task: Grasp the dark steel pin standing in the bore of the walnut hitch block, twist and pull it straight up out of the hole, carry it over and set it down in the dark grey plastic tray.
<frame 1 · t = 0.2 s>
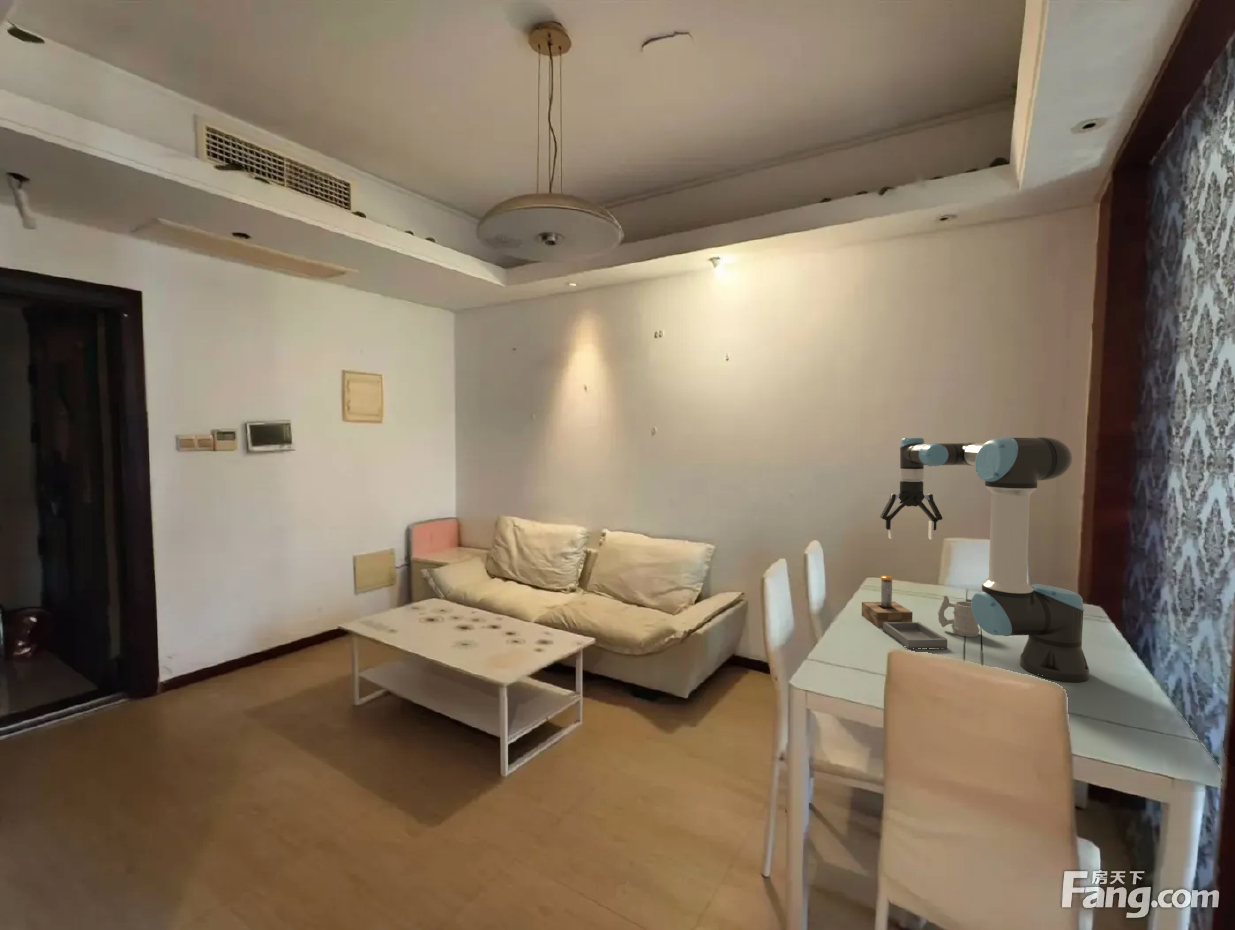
hand: (910, 539, 201), 28 cm above the table, fingers open, 13 cm apart
tray: (913, 639, 178), on the table
mug: (957, 633, 184), on the table
pin: (886, 599, 196), in the hitch block
hitch block: (886, 620, 196), on the table
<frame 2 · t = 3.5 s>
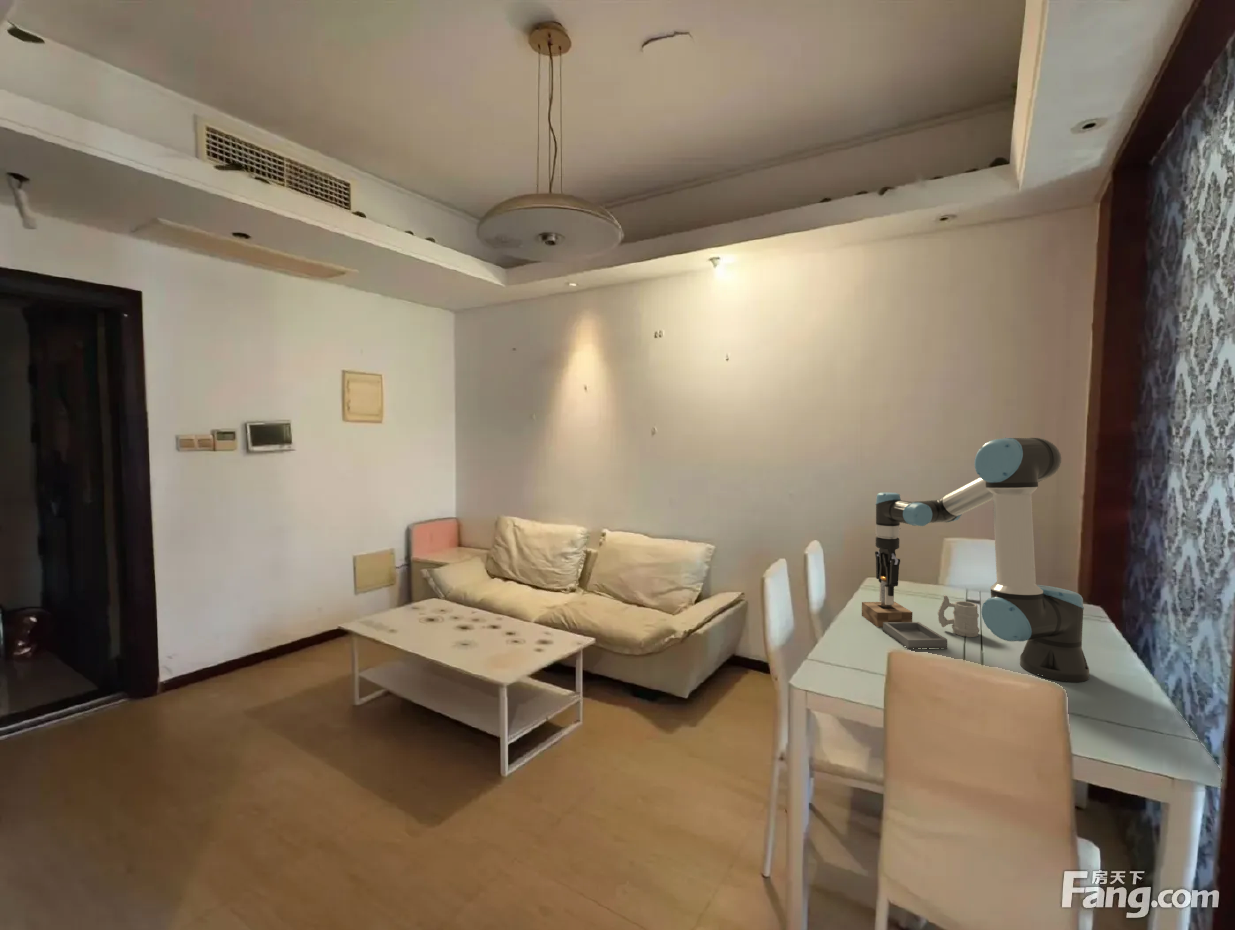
hand: (886, 602, 196), 7 cm above the table, fingers closed on pin, 3 cm apart
pin: (886, 599, 196), in the hitch block, touching gripper
everything else where it was.
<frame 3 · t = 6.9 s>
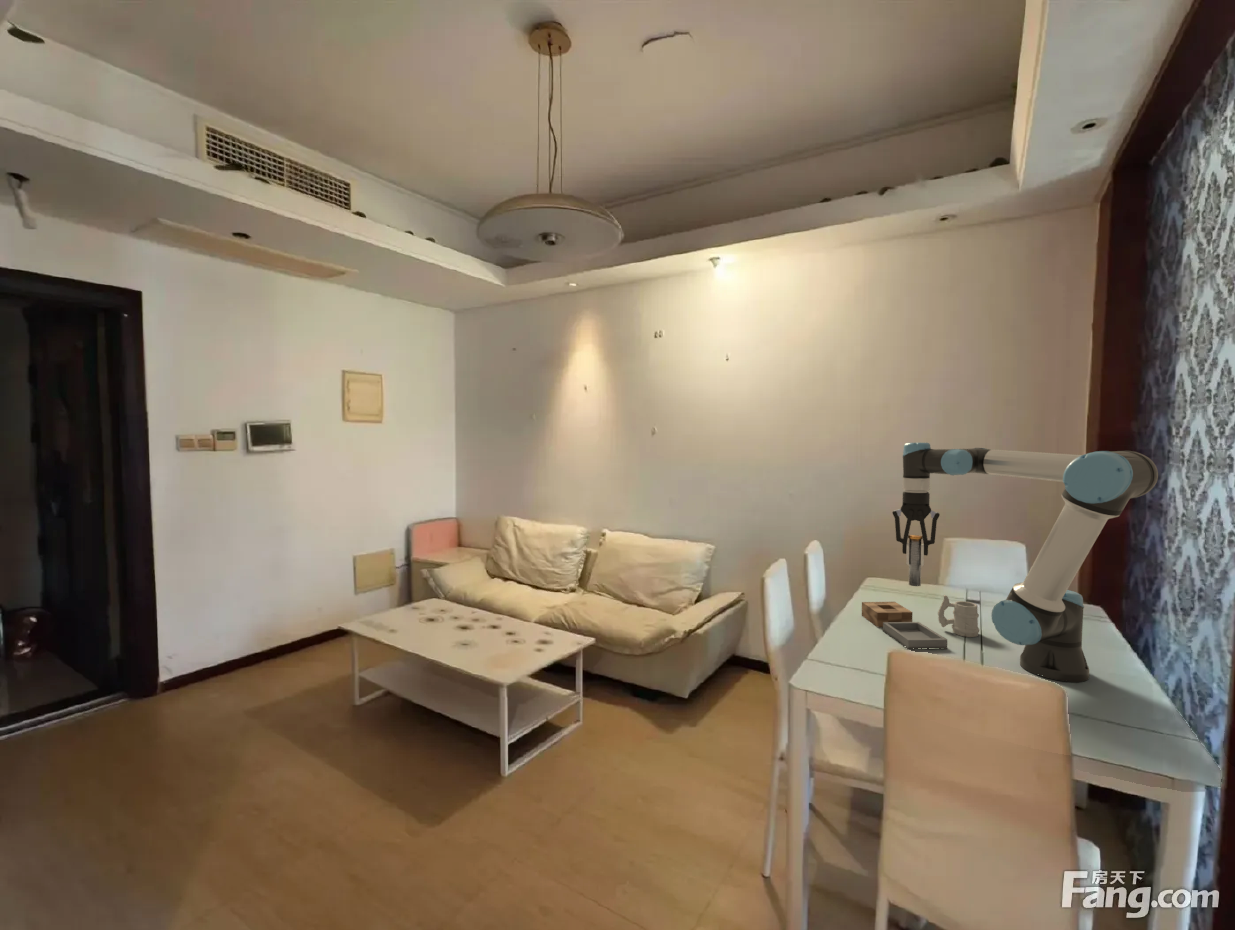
hand: (914, 564, 177), 24 cm above the table, fingers closed on pin, 3 cm apart
pin: (915, 560, 177), point 26 cm above the table, touching gripper
everything else where it was.
when the fingers open (8 cm above the table, at t = 10.2 s): pin drops 1 cm, resting on tray.
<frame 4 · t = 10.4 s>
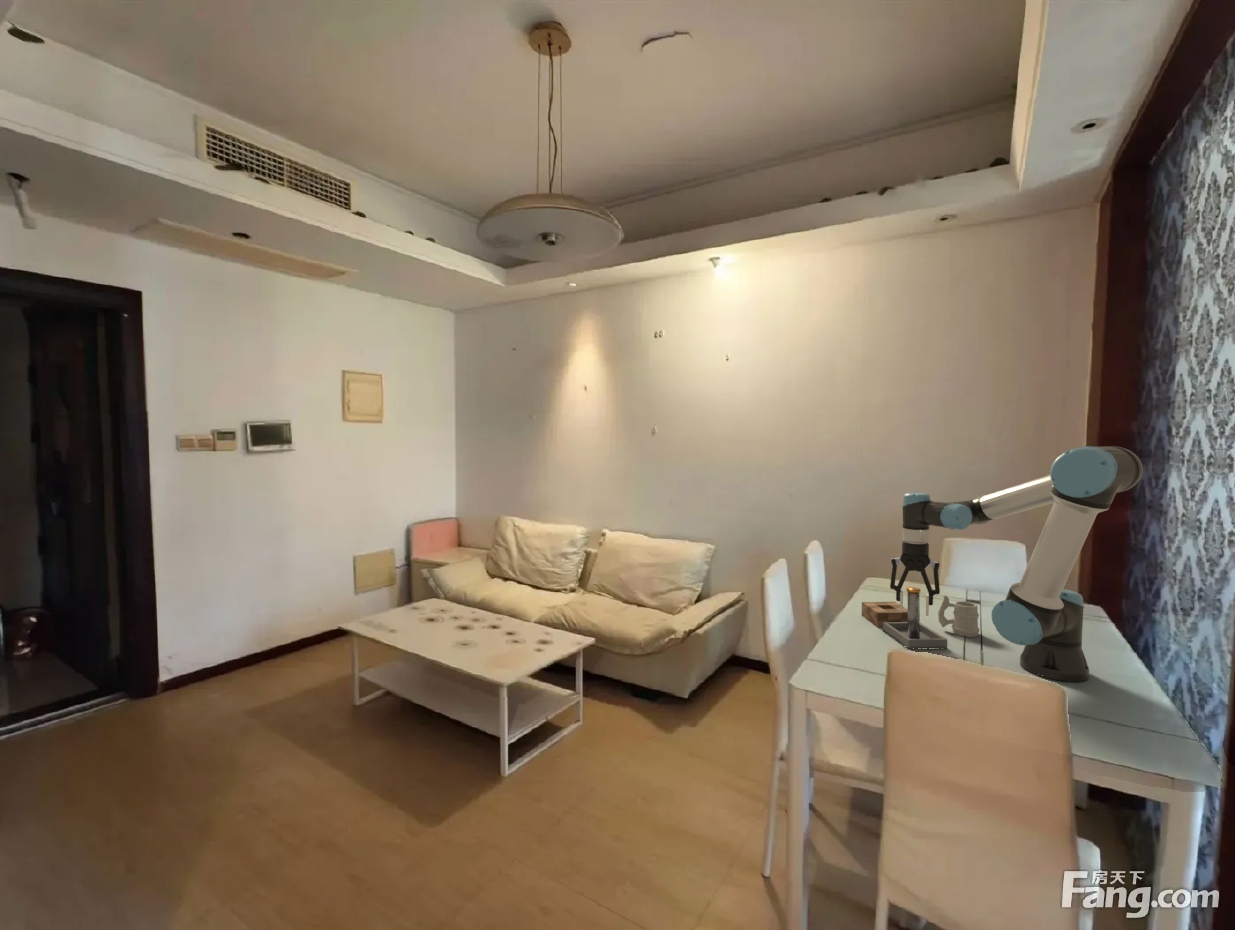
hand: (914, 612, 178), 9 cm above the table, fingers open, 7 cm apart
pin: (913, 613, 178), in the tray, point 9 cm above the table
everything else where it was.
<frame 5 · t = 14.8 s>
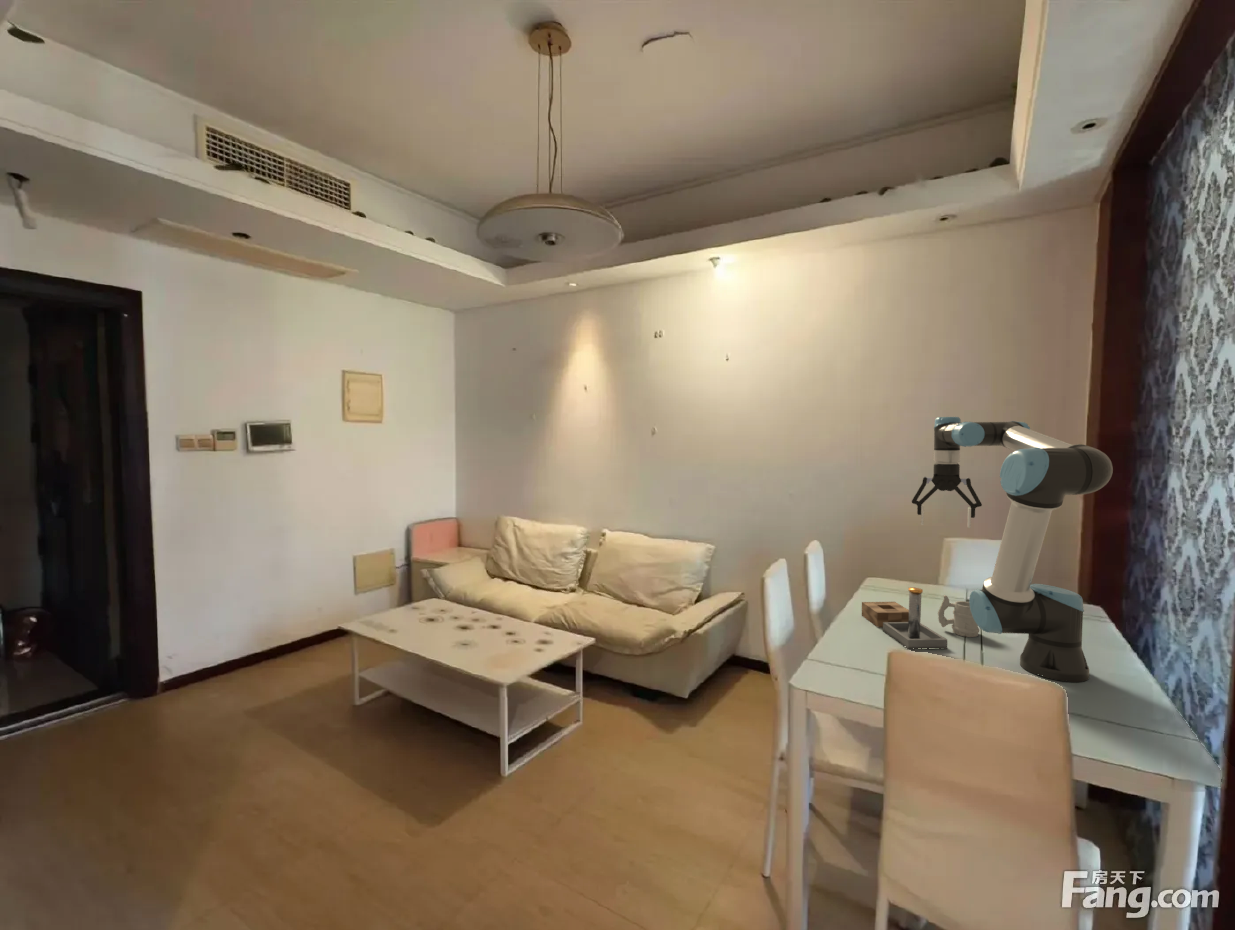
hand: (945, 526, 187), 35 cm above the table, fingers open, 13 cm apart
nothing on the table moved.
at the end: pin inside the target area on the tray (0.0 cm from its centre), point 8.7 cm above the tray's base; pin touching tray; the gripper is holding nothing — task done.
